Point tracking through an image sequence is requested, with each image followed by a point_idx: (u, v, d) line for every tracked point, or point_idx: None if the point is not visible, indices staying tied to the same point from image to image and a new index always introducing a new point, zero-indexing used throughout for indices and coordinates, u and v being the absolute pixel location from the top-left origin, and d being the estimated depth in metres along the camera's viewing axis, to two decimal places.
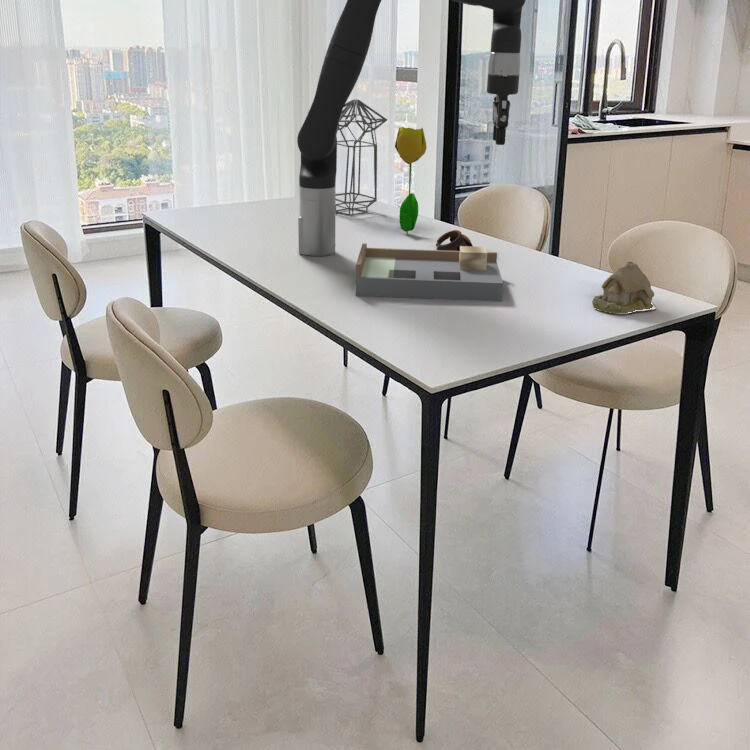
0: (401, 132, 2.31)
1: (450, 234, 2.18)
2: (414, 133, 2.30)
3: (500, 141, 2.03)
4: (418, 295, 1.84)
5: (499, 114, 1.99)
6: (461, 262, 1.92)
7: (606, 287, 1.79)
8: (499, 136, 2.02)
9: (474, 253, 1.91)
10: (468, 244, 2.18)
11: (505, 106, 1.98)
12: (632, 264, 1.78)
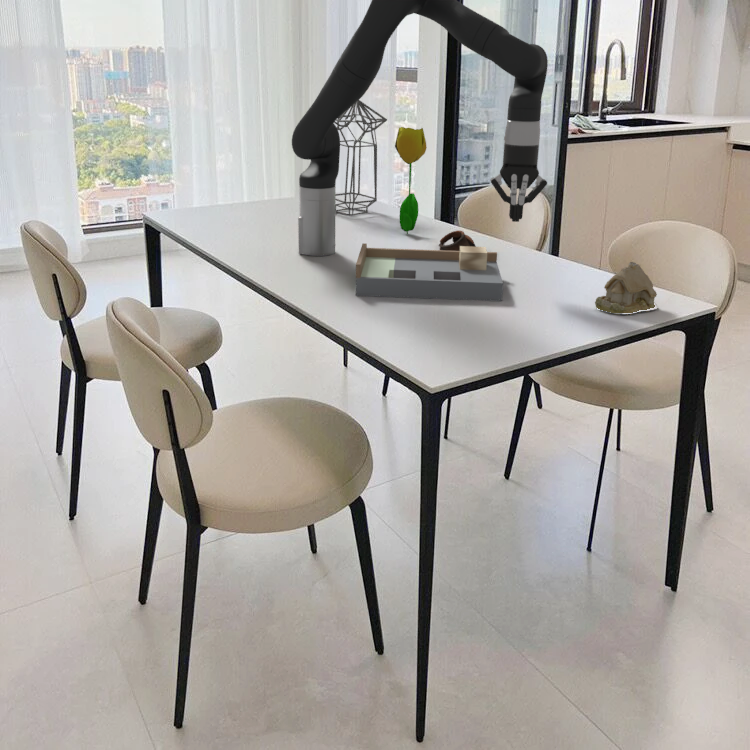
0: (401, 132, 2.31)
1: (453, 234, 2.17)
2: (414, 133, 2.30)
3: None
4: (418, 295, 1.84)
5: None
6: (461, 262, 1.92)
7: (609, 287, 1.79)
8: None
9: (474, 253, 1.91)
10: (471, 244, 2.18)
11: None
12: (634, 264, 1.78)
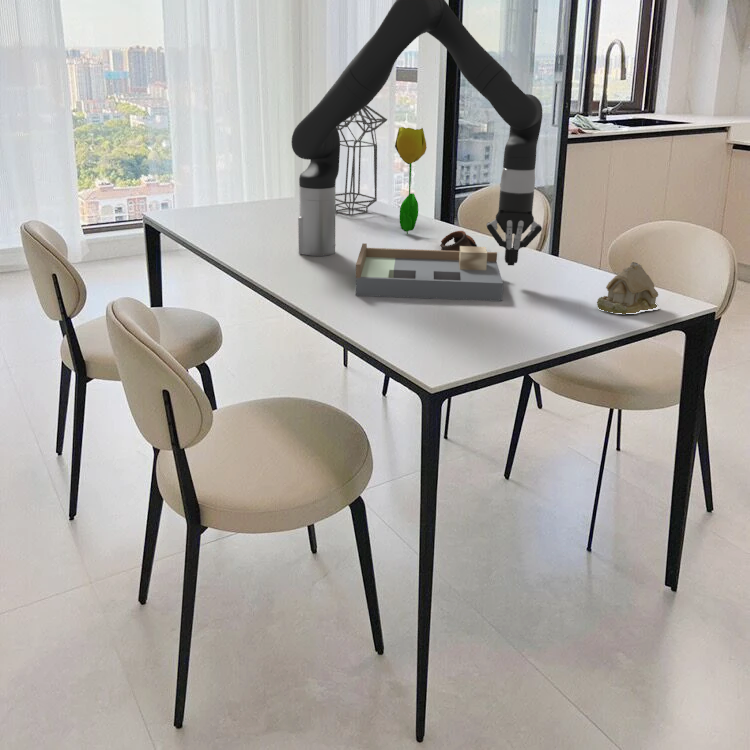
0: (401, 132, 2.31)
1: (454, 235, 2.17)
2: (414, 133, 2.30)
3: None
4: (418, 295, 1.84)
5: None
6: (461, 262, 1.92)
7: (611, 288, 1.78)
8: None
9: (474, 253, 1.91)
10: (472, 245, 2.18)
11: None
12: (636, 264, 1.78)
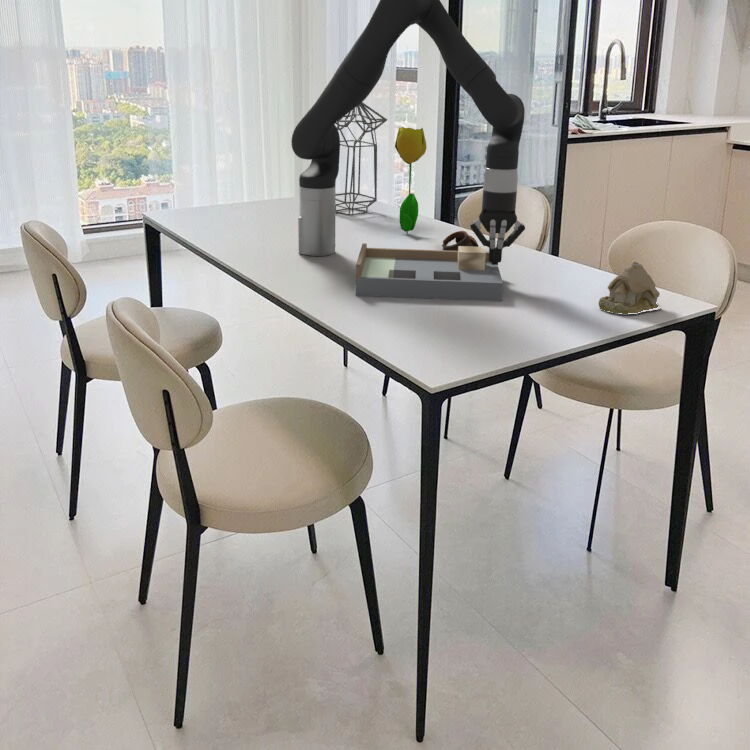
0: (401, 132, 2.31)
1: (456, 235, 2.17)
2: (414, 133, 2.30)
3: None
4: (418, 295, 1.84)
5: None
6: (459, 262, 1.92)
7: (612, 288, 1.78)
8: None
9: (472, 253, 1.91)
10: (474, 245, 2.18)
11: None
12: (637, 264, 1.78)
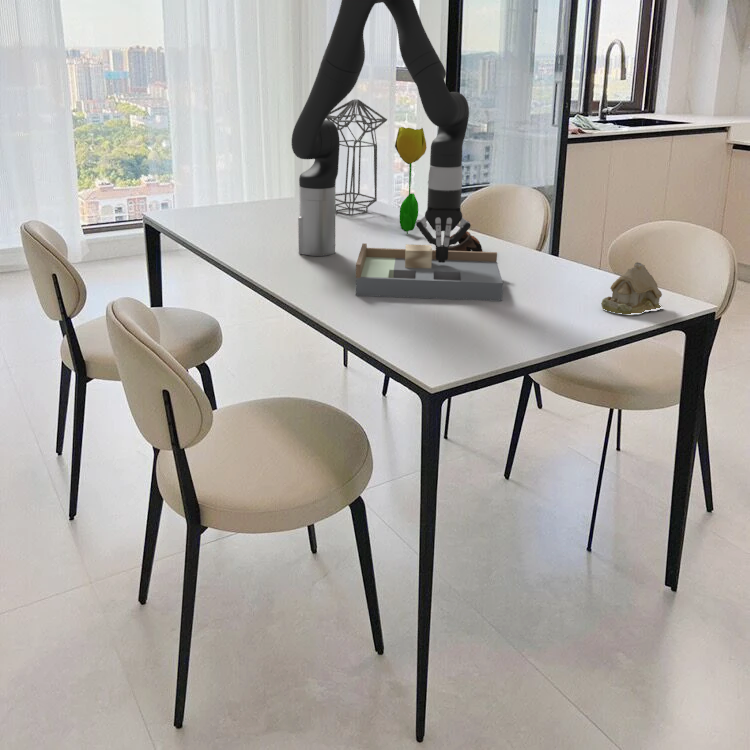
0: (401, 132, 2.31)
1: None
2: (414, 133, 2.30)
3: None
4: (418, 295, 1.84)
5: None
6: (406, 260, 1.92)
7: (615, 288, 1.78)
8: None
9: (419, 251, 1.91)
10: (477, 245, 2.17)
11: None
12: (640, 265, 1.78)
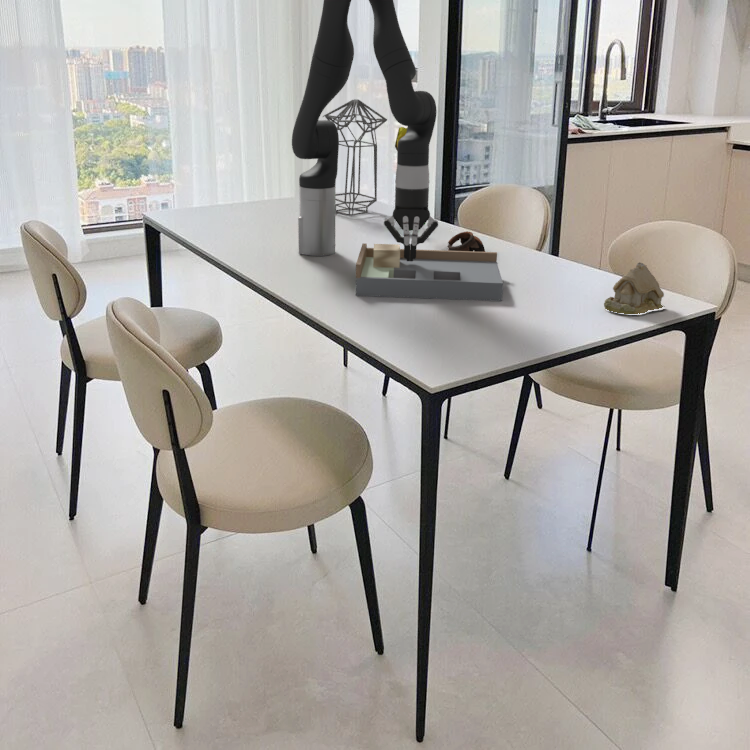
0: (401, 132, 2.31)
1: (461, 235, 2.17)
2: None
3: (415, 257, 1.95)
4: (418, 295, 1.84)
5: (430, 234, 1.92)
6: (374, 260, 1.92)
7: (618, 289, 1.78)
8: None
9: (387, 251, 1.91)
10: (479, 245, 2.17)
11: None
12: (642, 265, 1.77)
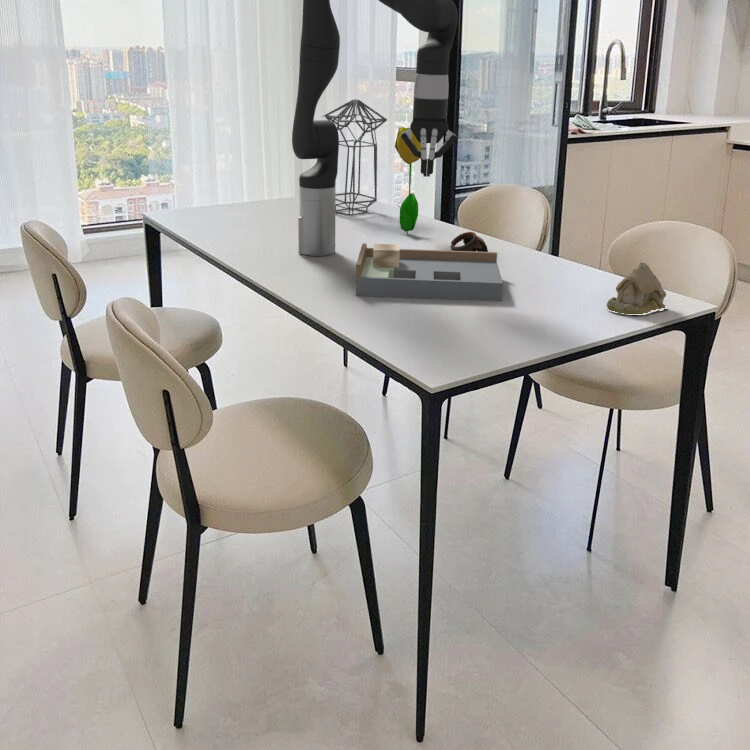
0: (401, 132, 2.31)
1: (464, 236, 2.16)
2: None
3: (432, 172, 1.91)
4: (418, 295, 1.84)
5: (447, 148, 1.88)
6: (374, 260, 1.92)
7: (620, 289, 1.78)
8: None
9: (386, 251, 1.91)
10: (482, 246, 2.17)
11: None
12: (645, 265, 1.77)
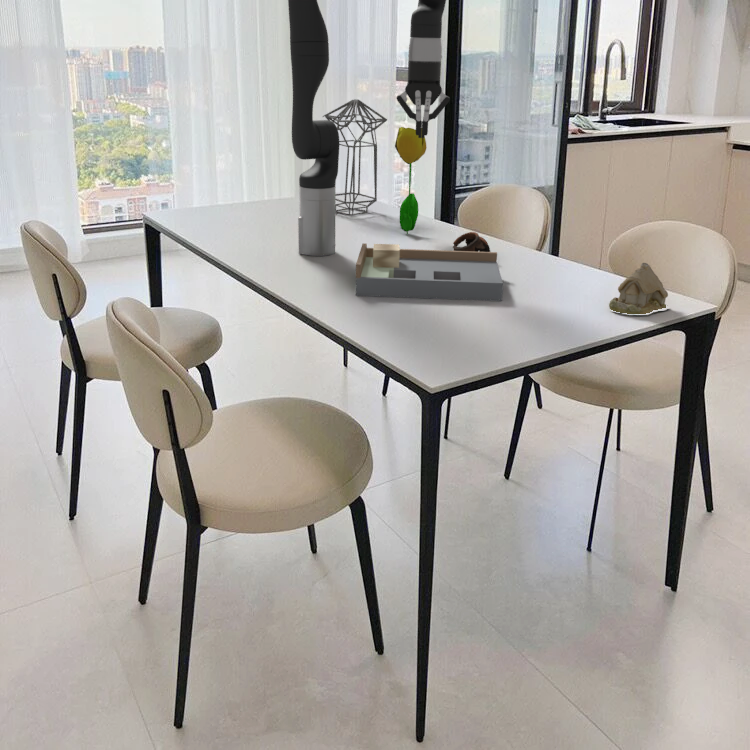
0: (401, 132, 2.31)
1: (466, 236, 2.16)
2: (414, 133, 2.30)
3: None
4: (418, 295, 1.84)
5: (441, 110, 1.95)
6: (374, 260, 1.92)
7: (623, 289, 1.78)
8: (427, 129, 1.98)
9: (386, 251, 1.91)
10: (484, 246, 2.17)
11: None
12: (647, 265, 1.77)
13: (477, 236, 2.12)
